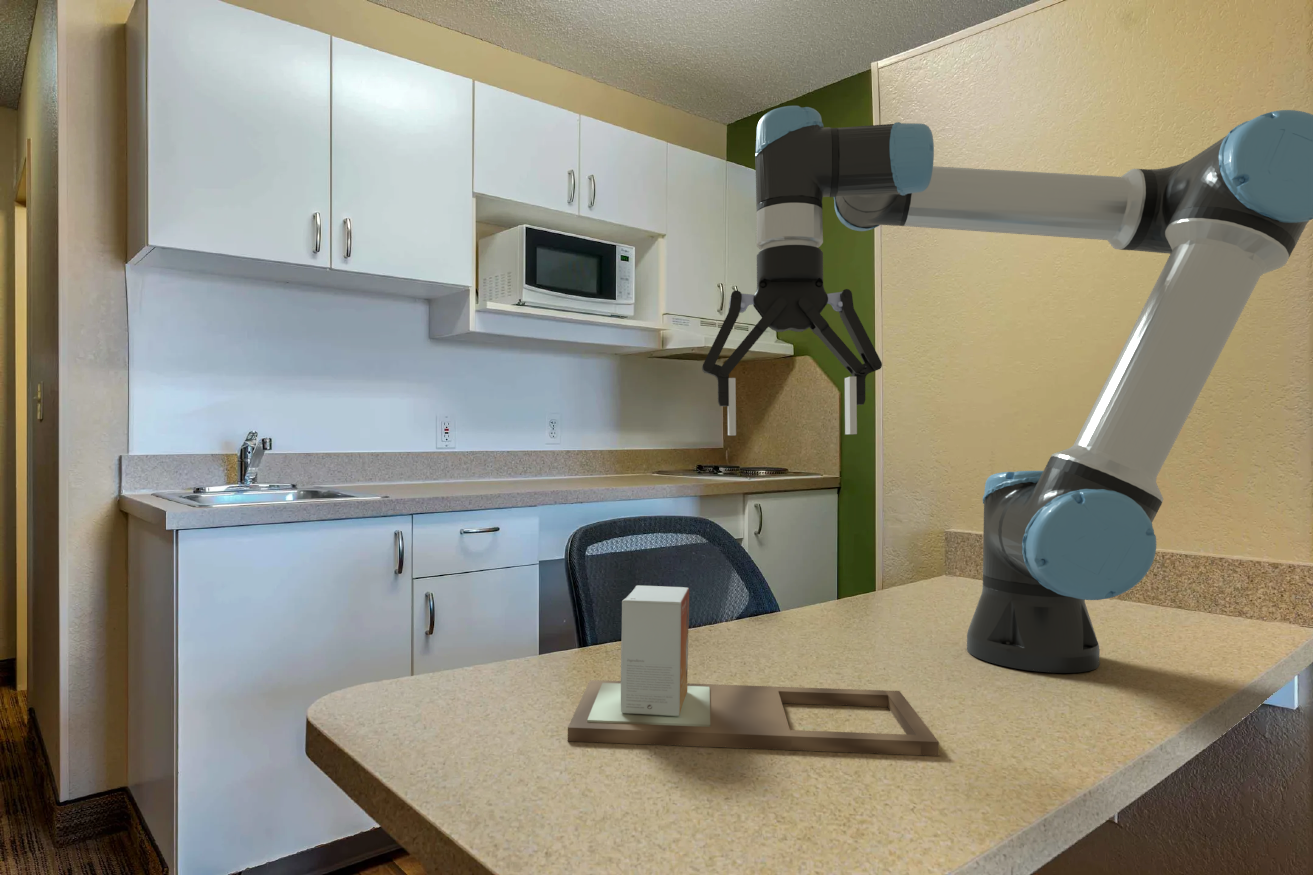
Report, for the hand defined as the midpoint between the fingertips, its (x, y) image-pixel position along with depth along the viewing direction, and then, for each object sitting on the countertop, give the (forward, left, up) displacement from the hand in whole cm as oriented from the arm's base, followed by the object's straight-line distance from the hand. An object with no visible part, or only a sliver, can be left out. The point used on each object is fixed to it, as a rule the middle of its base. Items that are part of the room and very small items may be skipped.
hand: (791, 435), depth 94 cm
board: (+5, +16, -27) cm, 32 cm away
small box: (+14, +16, -26) cm, 34 cm away
